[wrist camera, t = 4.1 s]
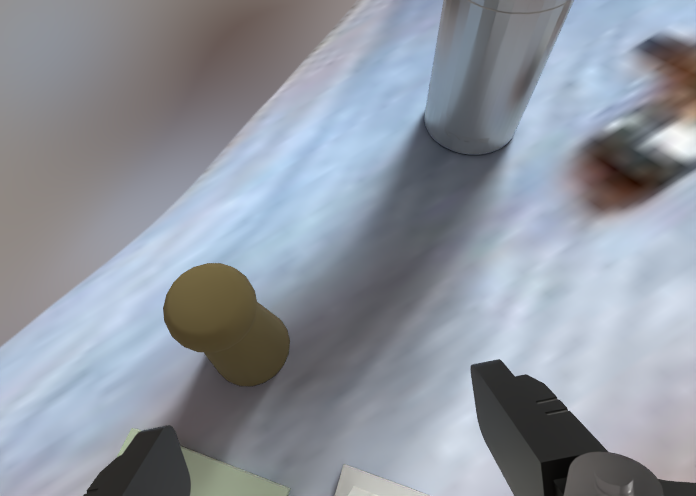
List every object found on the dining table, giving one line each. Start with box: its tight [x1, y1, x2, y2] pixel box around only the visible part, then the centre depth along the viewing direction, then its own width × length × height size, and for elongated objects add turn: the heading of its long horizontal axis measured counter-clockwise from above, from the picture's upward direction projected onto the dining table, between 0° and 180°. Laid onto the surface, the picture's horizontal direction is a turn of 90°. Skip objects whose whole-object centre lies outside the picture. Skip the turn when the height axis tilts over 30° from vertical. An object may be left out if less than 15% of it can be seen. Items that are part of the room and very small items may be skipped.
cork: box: [163, 263, 290, 386], centre depth 27 cm, size 6×6×11 cm
